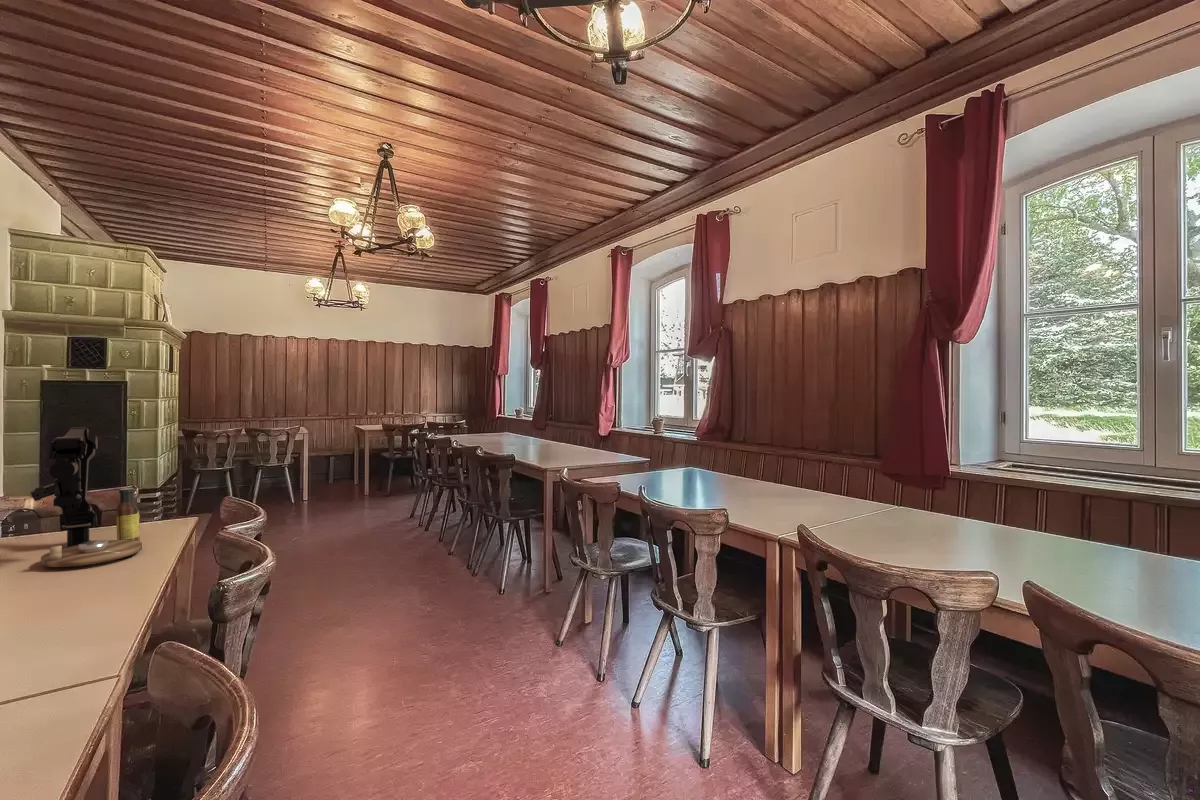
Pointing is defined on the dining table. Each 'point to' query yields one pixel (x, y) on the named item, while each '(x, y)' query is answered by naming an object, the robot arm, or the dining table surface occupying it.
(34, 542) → the dining table surface
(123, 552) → the turntable
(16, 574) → the dining table surface
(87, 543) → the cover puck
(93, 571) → the dining table surface
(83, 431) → the robot arm
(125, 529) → the sauce bottle
